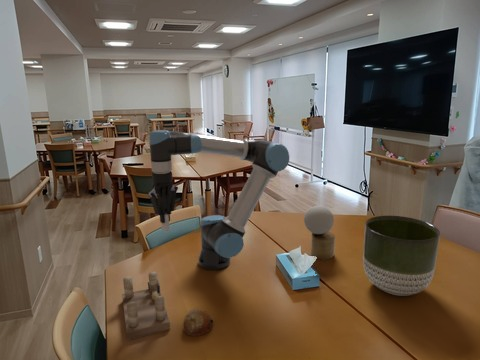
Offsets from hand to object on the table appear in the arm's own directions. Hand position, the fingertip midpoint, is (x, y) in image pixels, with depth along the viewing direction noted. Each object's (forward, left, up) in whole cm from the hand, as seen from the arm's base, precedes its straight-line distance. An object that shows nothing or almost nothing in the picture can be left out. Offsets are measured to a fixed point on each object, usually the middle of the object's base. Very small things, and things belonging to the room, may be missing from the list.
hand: (165, 229), depth 136 cm
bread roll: (-19, +21, -27) cm, 39 cm away
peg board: (+2, +18, -26) cm, 32 cm away
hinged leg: (+2, +10, -23) cm, 25 cm away
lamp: (-61, -44, -27) cm, 80 cm away
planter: (-91, -17, -27) cm, 96 cm away
